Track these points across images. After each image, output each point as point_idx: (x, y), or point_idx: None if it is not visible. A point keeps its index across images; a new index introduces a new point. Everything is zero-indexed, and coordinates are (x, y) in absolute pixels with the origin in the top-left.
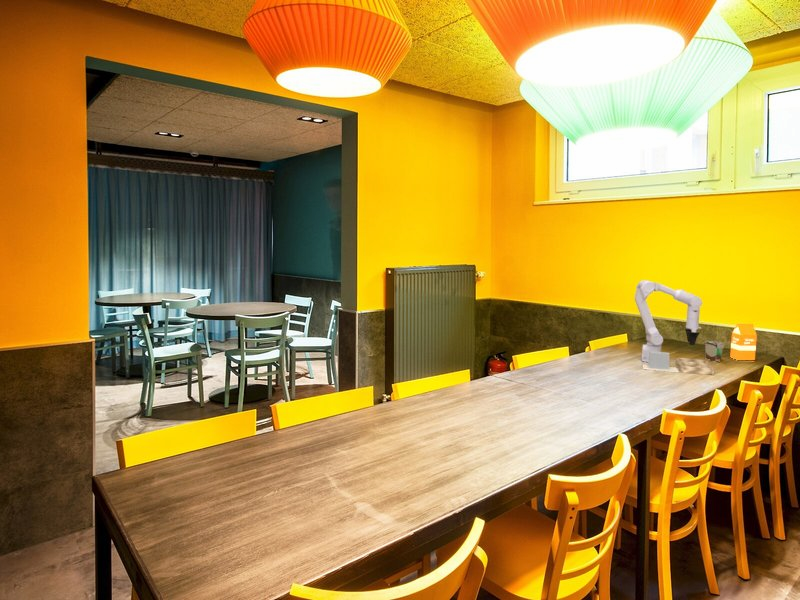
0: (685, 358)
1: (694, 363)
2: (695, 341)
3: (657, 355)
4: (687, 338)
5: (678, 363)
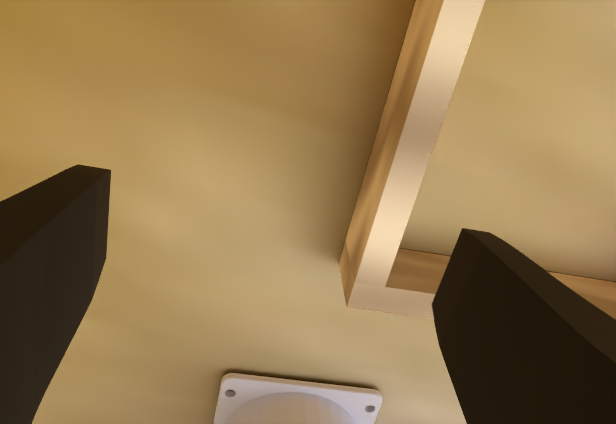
0: (386, 210)
1: None
2: (556, 280)
3: None
4: (66, 342)
5: None
